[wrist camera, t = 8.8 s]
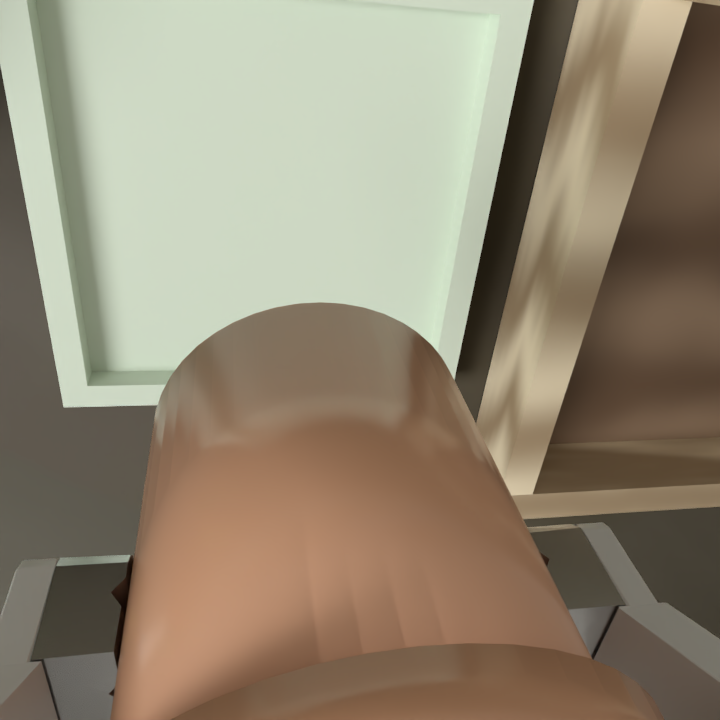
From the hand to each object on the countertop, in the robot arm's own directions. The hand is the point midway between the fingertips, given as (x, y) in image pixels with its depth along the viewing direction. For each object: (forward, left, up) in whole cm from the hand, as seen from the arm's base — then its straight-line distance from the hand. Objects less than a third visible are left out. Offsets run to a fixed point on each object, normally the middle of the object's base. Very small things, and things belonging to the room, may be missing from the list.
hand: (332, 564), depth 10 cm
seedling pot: (0, 0, -3) cm, 3 cm away
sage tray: (0, 0, -17) cm, 17 cm away
